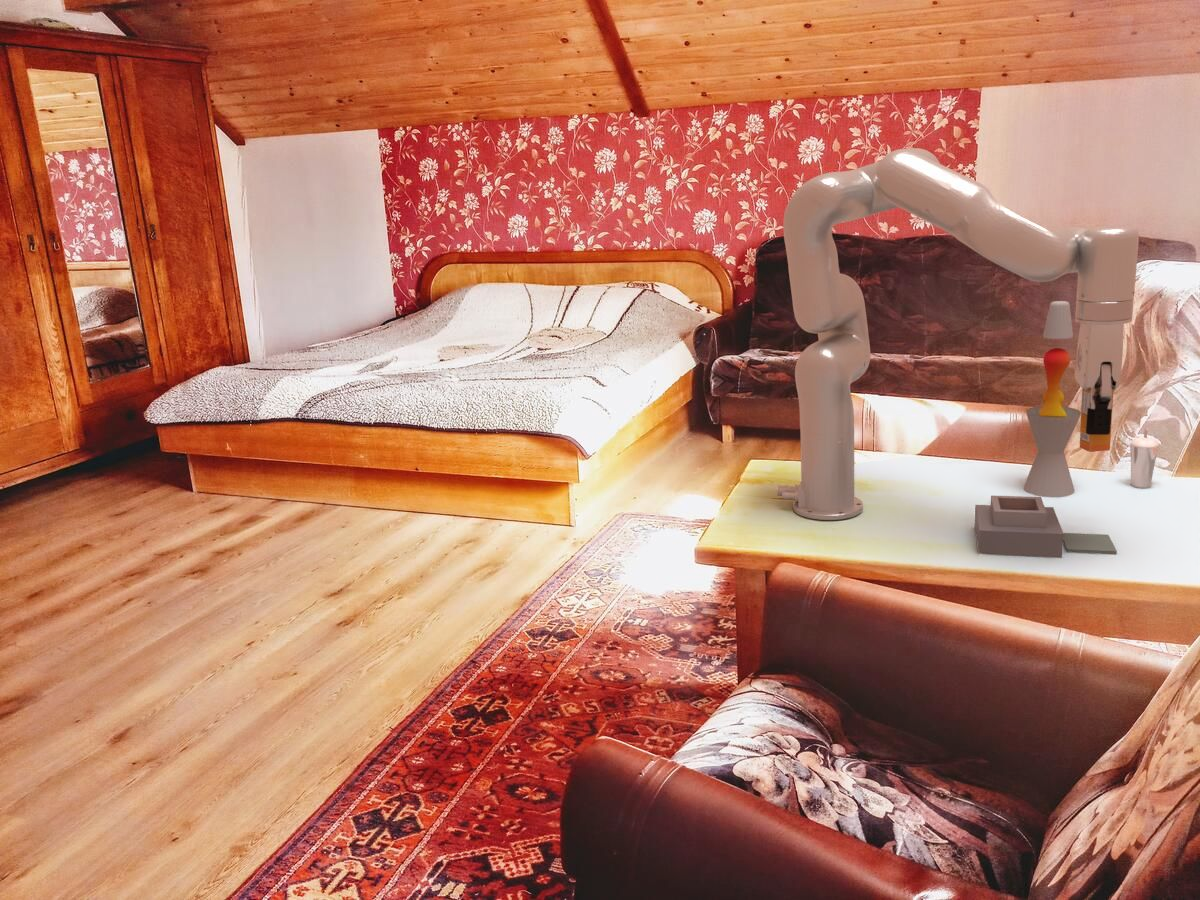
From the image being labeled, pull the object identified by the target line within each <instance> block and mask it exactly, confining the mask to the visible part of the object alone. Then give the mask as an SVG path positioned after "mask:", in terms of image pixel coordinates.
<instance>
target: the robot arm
mask: <svg viewBox="0 0 1200 900" xmlns="http://www.w3.org/2000/svg"><path fill="white" fill-rule="evenodd" d="M897 208H900V209H901V210H904V211H906V212H907V213H909V214H912V215H913V216H914V217H915V216H916V217H917V218H919V219H922V220H923V221H925V222H927V223H928V224H931V225H933V226H934V227H936V228H938V229H940V230H942V231H944V232H945V233H948V234H949V235H951V236H953V237H954V238H956V240H957V241H958V242H959V243H960V242H961V243H962V244H963V245H965V246H967V247H968V248H970V249H972V250H973V251H974V252H976V253H977V254H979V255H980V256H982V257H983V258H985V259H987V260H988V261H991V262H992V263H994V264H996V265H998V266H1000V267H1002V268H1004V269H1006V270H1008V271H1010V272H1011V273H1013V274H1016V275H1017V276H1019V277H1022V278H1023V279H1025V280H1028V281H1031V282H1037V283H1047V282H1048V283H1049V282H1051V281H1054V280H1057V279H1058V278H1060V277H1062V276H1063V275H1067V274H1073V273H1077V286H1076V287H1077V288H1076V302H1075V313H1074V314H1075V315H1074V321H1075V322H1076V323H1077V324H1080V325H1079V332H1078V338H1077V348H1076V349H1077V350H1076V358H1075V365H1074V372H1073V373H1074V375H1073V376H1074V379H1075V381H1076V383H1077V384H1078V385H1079V386H1080V387H1081V389H1082V388H1083V389H1084V390H1088V388H1091V390H1090V408H1087V422H1086V433H1087V434H1089V435H1108V434H1109V433H1110V426H1111V427H1112V424H1111V414H1112V415H1113V407H1112V389H1113V390H1114V391H1115V390H1117V389H1118V388H1119V387H1120V384H1121V376H1122V365H1123V350H1124V349H1123V348H1124V339H1125V338H1124V329H1125V328H1124V325H1125V324H1129V323H1132V322H1133V314H1134V313H1133V312H1134V303H1135V301H1134V300H1135V291H1136V290H1135V289H1136V277H1137V266H1138V251H1139V241H1140V237H1139V231H1138V230H1137V229H1136V228H1135V227H1134V226H1130V225H1123V224H1122V225H1117V224H1115V225H1100V226H1093V227H1082V226H1081V227H1079V226H1070V225H1069V226H1068V225H1050V226H1046V227H1044V226H1042V225H1039V224H1037V223H1036V222H1034V221H1031V220H1029V219H1027V218H1026V217H1023V216H1022V215H1019V214H1018V213H1016V212H1014V211H1012V210H1010V209H1008V208H1007V207H1006V206H1004V205H1003V204H1001V202H1000V201H998V200H997V199H996V198H995V197H994V196H993V194H992V193H991V191H990V189H988V187H986V186H985V185H984V184H982V183H981V182H978V181H976V180H975V179H972V178H970V177H969V176H966V175H964V174H962V173H959V172H958V171H955V170H953V169H951V168H949V167H947V166H945V165H943V164H942V163H940V161H939V160H938V158H937V157H936V155H934V154H933V153H932V152H930V151H929V150H927V149H925V148H919V147H917V148H916V147H915V148H913V147H910V148H899V149H895V150H892V151H891V152H889V153H887V154H886V155H884V156H883V157H882V159H881V160H879V161H876V162H873V163H870V164H867V165H864V166H861V167H858V168H855V169H851V170H845V171H832V172H831V171H830V172H826V173H822V174H820V175H819V174H818V175H816V176H814V177H813V178H811V179H809V180H808V181H806V182H804V184H802V185H801V186H800V187H799V188H798V189H797V190H796V191H795V192H794V193H793V194H792V196H791V197H790V199H789V201H788V203H787V205H786V207H785V210H784V214H783V222H782V226H783V227H782V228H783V229H782V230H783V240H784V244H785V251H786V257H787V264H788V265H787V267H788V274H789V275H788V276H789V283H790V284H789V285H790V291H791V300H792V308H793V309H792V310H793V314H794V318H795V321H796V323H797V325H798V326H799V327H800V328H801V329H802V330H803V331H805V332H807V333H811V334H817V337H818V340H817V341H815V342H814V343H812V344H810V345H808V346H807V347H806V348H805V349H804V350H803V351H802V352H801V354H800V355H799V356H798V359H797V361H796V364H795V368H794V378H795V379H794V380H795V387H796V391H797V398H798V407H799V408H798V409H799V429H800V475H801V476H800V477H801V478H800V480H801V481H800V483H799V484H795V485H794V486H788V485H777V496H778V497H779V496H780V497H782V500H794V501H793V503H792V504H793V505H792V508H793V511H794V513H796V514H797V515H799V516H802V517H803V518H808V519H811V520H819V521H839V520H846V519H850V518H853V517H857V516H858V515H859V514H861V513H863V511H864V502H863V501H862V500H861V499H860V498H859V497H857V496H855V413H854V412H855V410H854V404H853V398H852V394H851V393H852V392H851V384H852V383H854V382H856V381H857V380H858V379H860V378H861V377H862V376H863V375H864V374H865V373H866V372H867V369H868V368H869V366H870V361H871V346H870V345H871V344H870V337H869V327H868V318H867V311H866V303H865V302H866V301H865V298H864V294H863V291H862V289H861V286H860V285H859V283H857V282H856V280H855V279H853V278H852V277H851V276H849V275H848V274H847V275H846V274H844V273H841V272H840V266H839V257H838V250H837V246H836V243H835V240H834V238H833V233H832V232H833V230H832V229H833V227H834V226H836V225H837V224H838V225H839V224H842V223H847V222H852V221H853V222H854V221H857V220H860V219H864V218H866V217H871V216H873V215H876V214H880V213H883V212H886V211H890V210H893V209H897ZM1095 385H1100V388H1095ZM1096 393H1100V394H1097V396H1096V397H1095V395H1096ZM1111 407H1112V409H1111Z"/></svg>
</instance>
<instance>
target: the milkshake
mask: <svg viewBox="0 0 1200 900" xmlns="http://www.w3.org/2000/svg"><path fill="white" fill-rule="evenodd" d="M1148 431H1149V430H1148V429H1146V428H1145V429H1144V433H1143V437H1136V438H1133V439H1132V440H1131V441H1130V442H1129V448H1130V449H1129V450H1130V451H1129V452H1130V486H1132V487H1133V488H1139V489H1148V488H1151V486H1152V480H1153V475H1154V469H1155V463H1156V459H1157V457H1158V456H1157V455H1158V451H1159V447H1160V443H1159V441H1158V440H1157V439H1156V438H1151V437H1148Z"/></svg>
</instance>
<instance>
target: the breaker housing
mask: <svg viewBox="0 0 1200 900" xmlns="http://www.w3.org/2000/svg"><path fill="white" fill-rule="evenodd" d="M974 507H975V509H974V532H975V537H976V544H977V550H978V551H977V552H978V555H993V556H994V555H995V556H997V555H998V556H1014V557H1015V556H1019V557H1037V558H1038V557H1039V558H1053V559H1054V558H1058V559H1059V558H1060V559H1061V558H1063V547H1064V543H1063V535H1064V534H1063V533H1064V531H1063V529H1062V526H1061V523H1060V521H1059V517H1058V516H1057V514H1056V511H1055V508H1054V507H1052V506H1045V504H1044V502H1043V499H1042V496H1023V495H1022V496H1021V495H1020V496H1017V495H1016V496H1015V495H990V504H975V505H974Z"/></svg>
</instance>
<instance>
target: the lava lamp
mask: <svg viewBox="0 0 1200 900" xmlns="http://www.w3.org/2000/svg"><path fill="white" fill-rule="evenodd" d="M1071 312H1072V311H1071V304H1070V303H1069V301H1066V300H1057V301H1055V300H1054V301H1052V302H1050V304H1049V308H1048V312H1047V317H1046V321H1045V325H1044V329H1043V335H1042V337H1043V338H1044V339H1050V340H1064V339H1065V340H1067V339H1072V338H1073V337H1074V333H1073V332H1074V331H1073V324H1072V314H1071ZM1042 359H1043V361H1042V362H1043V365H1044V370H1045V374H1046V381H1047V382H1046V383H1047V385H1046V387H1047V389H1046V390H1045V391H1044V392H1043V393H1042V396H1041V398H1042V399H1041V400H1042V403H1043V405H1041V406H1033V407H1030V408H1028V409H1026V412H1025V413H1026V416H1027V420H1028V423H1029V426H1030V429H1031V432H1032V436H1033V438H1034V442H1035V445H1036V447H1037V453H1036V455H1035V458H1034V460H1033V462H1032V465H1031V468H1030V470H1029V472H1028V475H1027V477H1026V480H1025V482H1024V485H1023V490H1024V491H1025V492H1026V493H1028V494H1031V495H1035V496H1037V497H1043V498H1045V497H1046V498H1047V497H1048V498H1062V497H1063V498H1064V497H1068V496H1071V495H1073V494H1074V493H1075V488H1074V483H1073V479H1072V476H1071V472H1070V469H1069V465H1068V463H1067V458H1066V455H1065V449H1066V448H1067V446H1068V443H1069V441H1070V439H1071V437H1072V435H1073V432H1074V430H1075V429H1076V427H1077V424H1078V422H1079V419H1081V410H1079V409H1077V408H1074V407H1068V406H1062V404H1064V401H1065V396H1064V393H1063V392H1062V390H1060V383H1061V380H1062V376H1064V373H1065V371H1066V370H1067V368H1068V367H1069V365H1070V363H1071V355H1070V354H1069V352H1068V351H1067V350H1065V349H1064V348H1062V347H1055V348H1050V349H1049V350H1048V351H1047V352H1045V354H1044V356H1043V358H1042Z"/></svg>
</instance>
